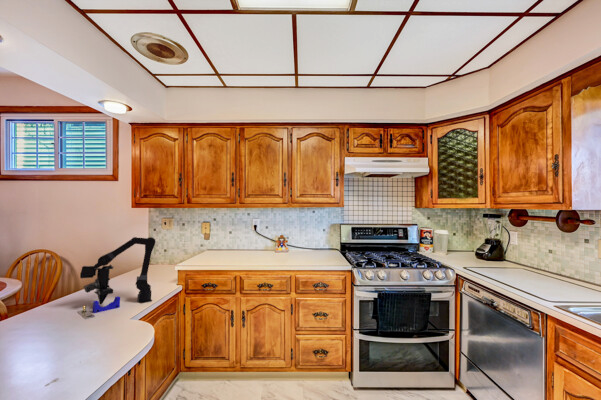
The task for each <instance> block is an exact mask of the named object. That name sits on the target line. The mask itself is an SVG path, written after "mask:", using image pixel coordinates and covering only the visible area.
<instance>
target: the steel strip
mask: <svg viewBox="0 0 601 400" xmlns="http://www.w3.org/2000/svg"><path fill="white" fill-rule="evenodd" d="M76 312H77V313H78V314H79V315H80V316H81V317H82V318H83V319H84V320H87V319H91V318H95V317H96V315H95V314H94V313H93V312H90V310H89V309H87V306H86V305H83V306H82V309H81V310H77V311H76Z"/></svg>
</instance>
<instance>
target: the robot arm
mask: <svg viewBox="0 0 601 400" xmlns="http://www.w3.org/2000/svg"><path fill="white" fill-rule="evenodd" d="M134 245H141V246H142V245H143V246H144V254H143V255H144V257H143V263H142V266H141V270H140V271H141V273H140V274H139V276H136V280H135V286H136V289H137V290H139V291H138V294H137V298H136V301H137V302H138V303H140V304H145V303H148V302H152V301H153V300H152V289H151V287H152V286H151V285H150V284H149V283H148V273H149V266H150V262H151V257H152V253H153V250H154V247H155V245H156V238H155V237H152V236H149V237H147V238H146V237H137V236H133V237H132V238H131V239H130V240H128V241H127V242H125V243H124V244H122V245H119V246H118V247H117V248H116V249H114V250H112V251H109V252H107V253H105V254H103V255H101V256H100V257H98V258H97V263H95V264H94V265H83V266H81V271H80V276H79V277H80V279H89V278H90V279H93V278H94V277H96V279H94V281H93V282H90V283H89V284H86V285H83V290H84V291H85V293H90V292H91V291H94V290H95V291H94V294H96V295H97V299H98V301H99V305H103V304H104V301H105V300H106V298H107V297H108V295H111V294H113V293H114V289H113V288H112V287H110V285H109V282H110V280H111V278H110V270H113V269H114V265H112V264H110V263H111V262H112V261H113V260H114V259H116V257H118V256H119V255H120V254H122V253H124V252H126V250H128V249H130V248H131V247H133V246H134Z"/></svg>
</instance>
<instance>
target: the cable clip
mask: <svg viewBox="0 0 601 400" xmlns="http://www.w3.org/2000/svg"><path fill="white" fill-rule="evenodd" d="M120 304H121V296H114V299H113V301H111V302H110V303H109V304H107V305H105V306H101V304H99V300H94V301H92V312H91V313H92V314H98V313H101V312H105V311H106V312H107V311H111V310H114V309H119V308H120V307H121V305H120Z"/></svg>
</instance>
